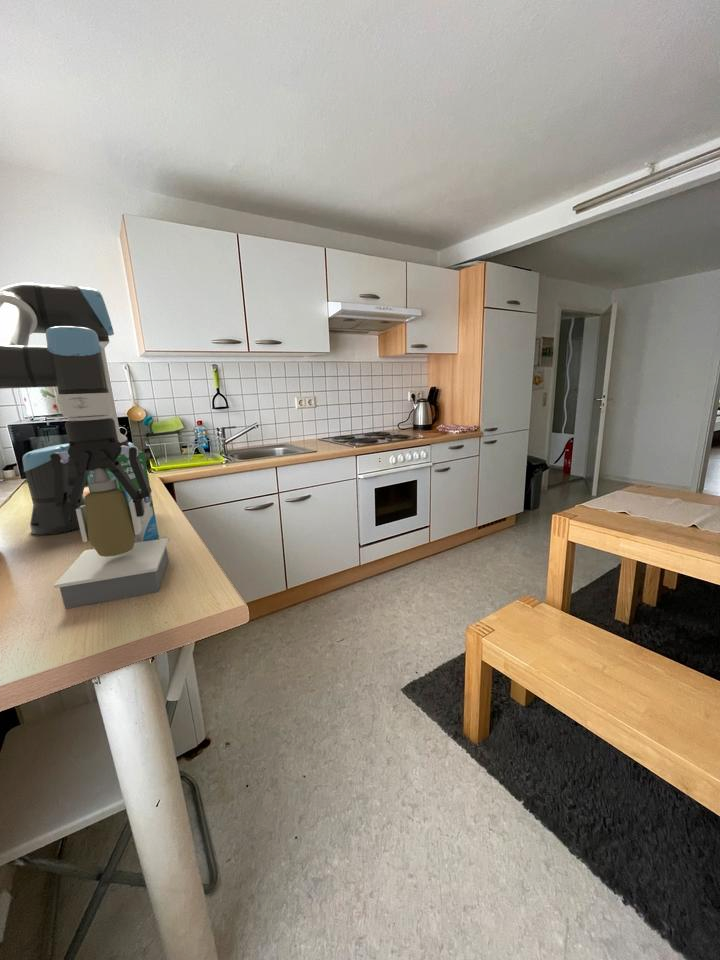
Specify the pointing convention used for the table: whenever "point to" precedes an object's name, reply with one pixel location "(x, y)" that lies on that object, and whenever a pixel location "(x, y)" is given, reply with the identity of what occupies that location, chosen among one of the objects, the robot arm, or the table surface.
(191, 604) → the table surface
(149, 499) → the milk carton
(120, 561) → the display podium
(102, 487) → the squeeze bottle
